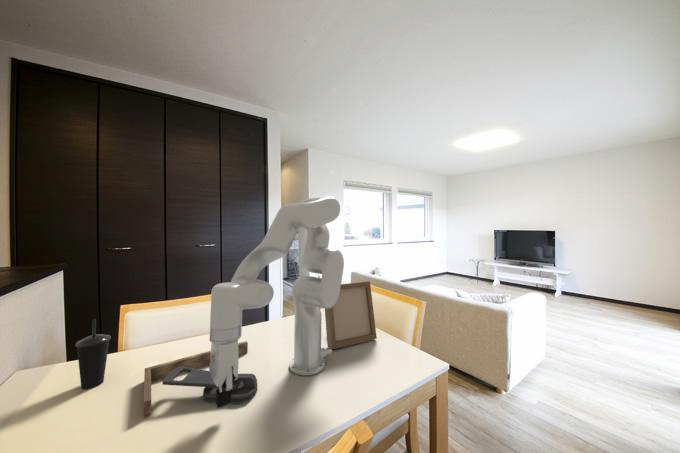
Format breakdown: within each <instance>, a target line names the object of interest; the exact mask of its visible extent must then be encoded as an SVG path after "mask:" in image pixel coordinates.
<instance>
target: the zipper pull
mask: <svg viewBox="0 0 680 453" xmlns="http://www.w3.org/2000/svg"><path fill="white" fill-rule="evenodd" d="M181 373H188V374H187V375H186V376H185V377H184V378H182V379H179V380H177V379H176V378H177V377H178V376H179V375H180V374H181ZM162 385H164V386H178V387H179V386H182V387H194V388H195V387H199V388H203V391H202V397H203V398H202V399H203V403H205V404H206V403H207V404H208V403H209V404H216V389H218V388H217V386H216V385H215V383H214V381H213V379H212V376H211V374H210V371H209V370H205V369H201V368H200V369H198V368H195V369H194V368H188V367H182V366H179V367H177V368H176V369H174V370H173V371H172V372H170V373H169V374H168V375H167V376H166V377H165V378H163V381H162ZM257 392H258V379H257V376H256V375H255V374H253V373H238V378H237V380H236V381H234V380H233V378H232V389H231V403H230V404H229V405H241V404H245V403H248V402H251V401H252V400H253V398H254V397H256V394H257Z"/></svg>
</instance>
